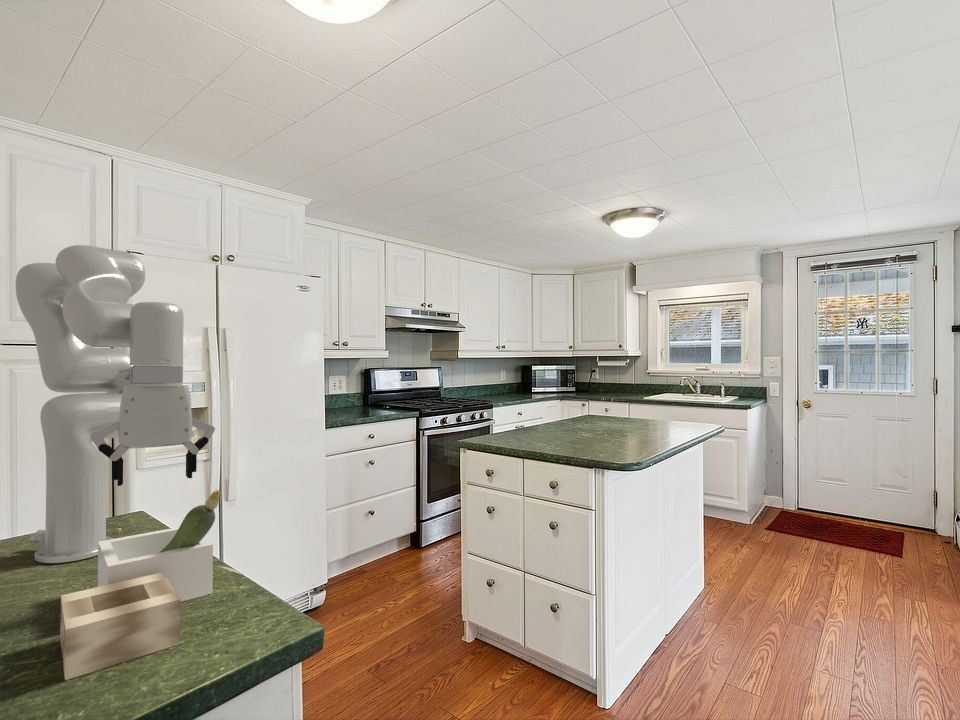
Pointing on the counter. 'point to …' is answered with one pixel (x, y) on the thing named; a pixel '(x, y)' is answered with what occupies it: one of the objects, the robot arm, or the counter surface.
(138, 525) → the counter surface
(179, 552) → the bin
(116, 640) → the holder
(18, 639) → the counter surface
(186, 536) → the vegetable
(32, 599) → the counter surface
